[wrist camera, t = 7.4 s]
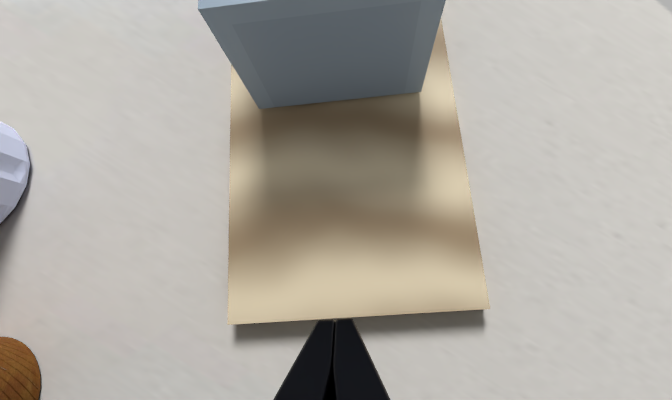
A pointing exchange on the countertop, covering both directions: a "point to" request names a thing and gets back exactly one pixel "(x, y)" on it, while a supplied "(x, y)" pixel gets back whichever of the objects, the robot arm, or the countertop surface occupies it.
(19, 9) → the countertop surface
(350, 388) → the robot arm
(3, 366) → the disposable coffee cup
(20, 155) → the soap bottle
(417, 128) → the flat panel
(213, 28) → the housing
